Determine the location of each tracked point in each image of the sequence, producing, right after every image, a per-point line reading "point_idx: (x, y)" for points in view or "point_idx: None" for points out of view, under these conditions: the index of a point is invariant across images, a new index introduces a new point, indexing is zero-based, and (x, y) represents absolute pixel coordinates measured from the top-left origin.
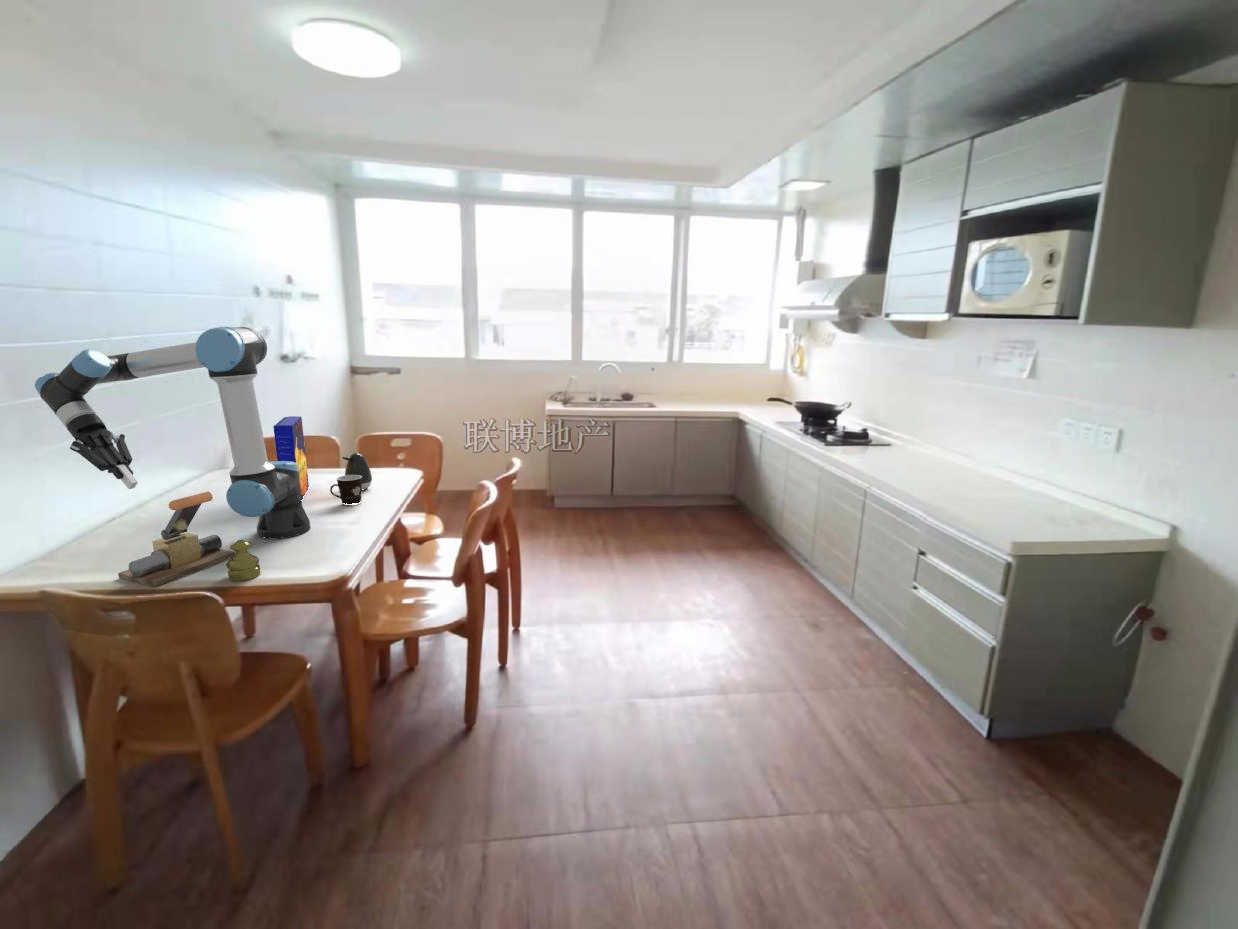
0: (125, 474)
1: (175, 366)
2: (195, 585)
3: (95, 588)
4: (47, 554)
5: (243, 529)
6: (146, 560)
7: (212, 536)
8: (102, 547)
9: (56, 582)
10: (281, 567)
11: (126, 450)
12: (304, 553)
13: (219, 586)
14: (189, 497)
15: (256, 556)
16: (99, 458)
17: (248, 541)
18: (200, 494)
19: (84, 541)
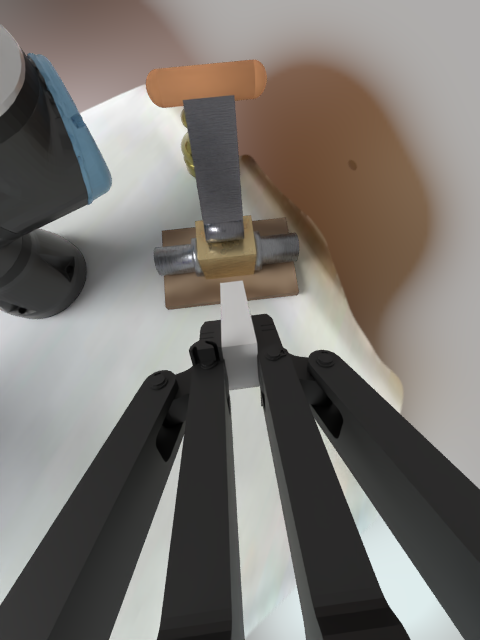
0: (246, 304)
1: None
2: (254, 187)
3: (330, 285)
4: None
5: (62, 350)
6: (281, 235)
7: (162, 251)
8: (243, 490)
9: (354, 360)
10: (164, 152)
11: (99, 482)
12: (112, 168)
13: (241, 162)
14: (214, 63)
15: (183, 137)
16: (361, 406)
17: (183, 112)
18: (182, 66)
19: (243, 578)
